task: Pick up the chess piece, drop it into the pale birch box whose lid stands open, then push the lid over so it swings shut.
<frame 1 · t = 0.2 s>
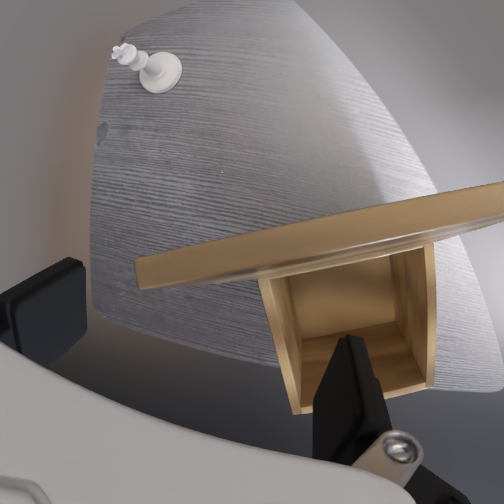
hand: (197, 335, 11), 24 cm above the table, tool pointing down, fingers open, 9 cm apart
chess piece: (161, 73, 30), on the table
box: (341, 279, 34), on the table
lid: (360, 245, 13), point 19 cm above the table, hinge at 110.1°
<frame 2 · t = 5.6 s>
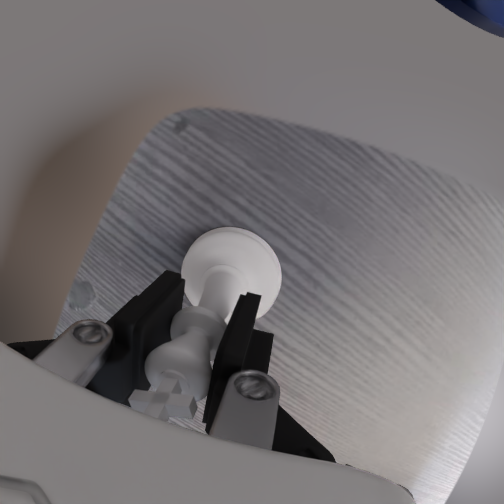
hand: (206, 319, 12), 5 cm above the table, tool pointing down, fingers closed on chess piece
chess piece: (232, 274, 16), on the table, touching gripper
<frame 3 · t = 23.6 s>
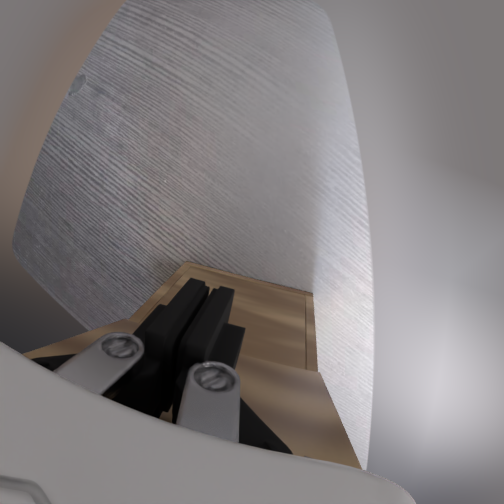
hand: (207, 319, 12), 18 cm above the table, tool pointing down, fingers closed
box: (235, 335, 33), on the table
lid: (188, 400, 12), point 19 cm above the table, hinge at 109.7°, touching gripper
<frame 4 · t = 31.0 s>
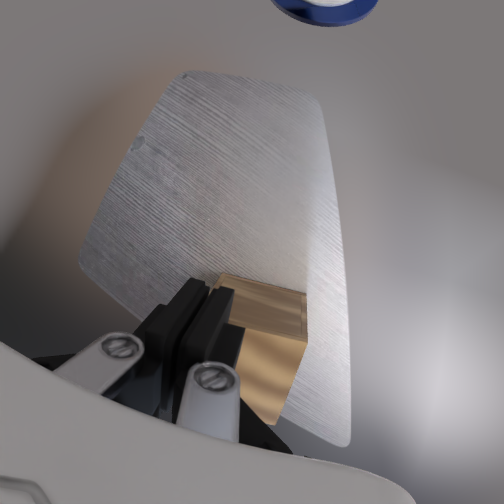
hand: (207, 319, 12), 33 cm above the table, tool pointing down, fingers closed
box: (254, 322, 49), on the table
lid: (239, 375, 37), point 13 cm above the table, hinge at -0.1°
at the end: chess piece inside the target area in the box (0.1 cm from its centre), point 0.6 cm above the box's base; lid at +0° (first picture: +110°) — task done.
